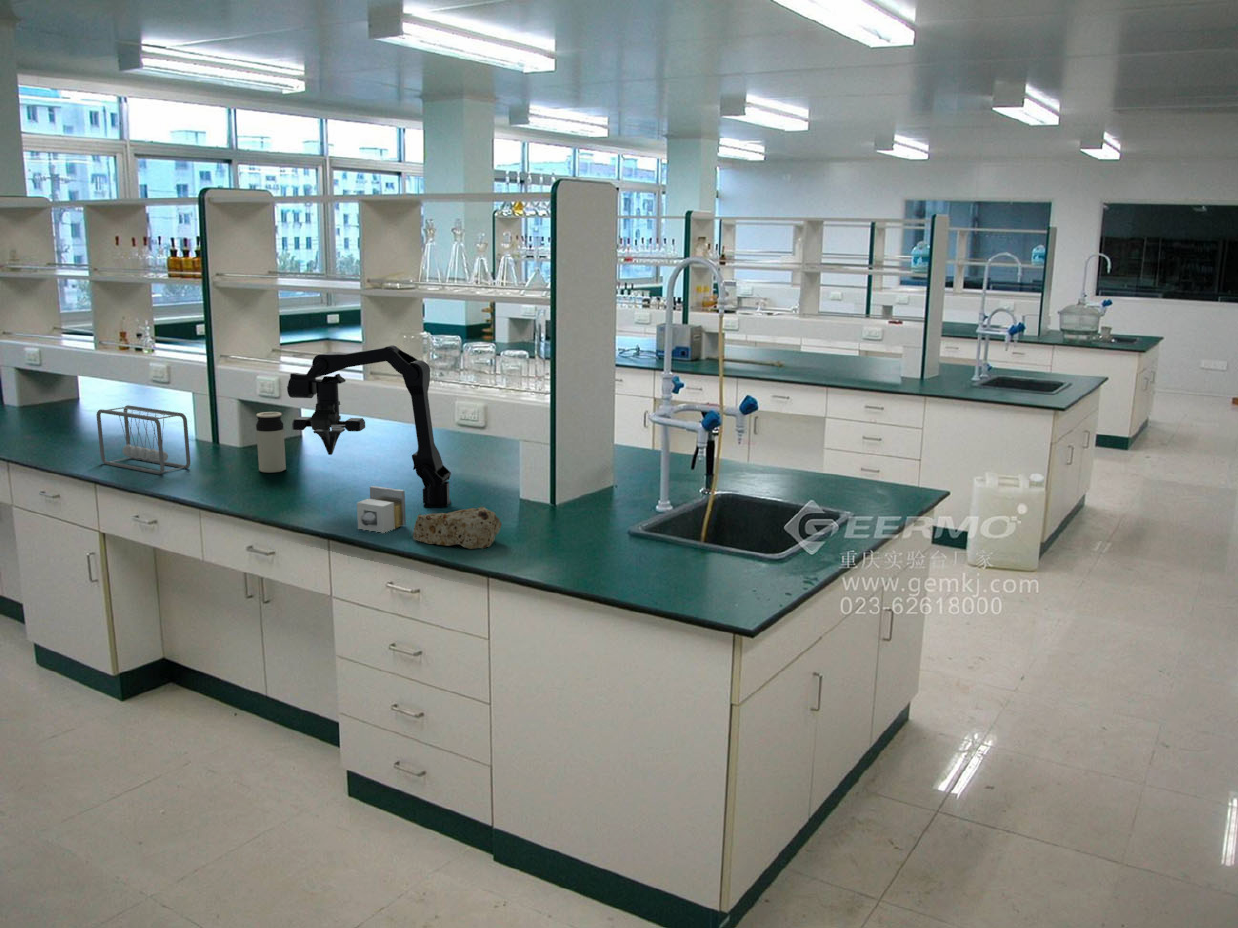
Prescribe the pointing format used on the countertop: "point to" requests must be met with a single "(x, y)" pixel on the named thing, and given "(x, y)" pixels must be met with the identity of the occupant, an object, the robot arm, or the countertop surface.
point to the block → (383, 515)
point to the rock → (458, 528)
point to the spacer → (397, 515)
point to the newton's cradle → (144, 452)
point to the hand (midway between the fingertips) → (330, 454)
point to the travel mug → (270, 442)
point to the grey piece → (385, 495)
